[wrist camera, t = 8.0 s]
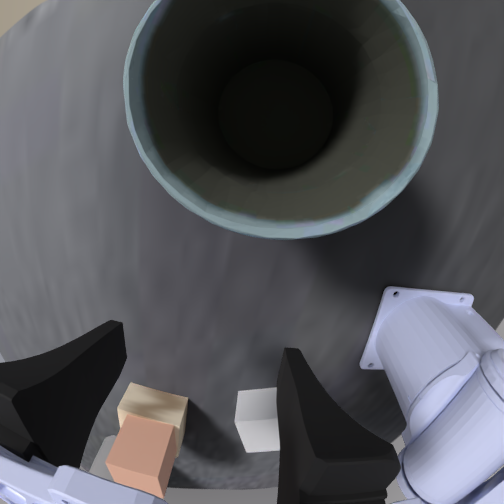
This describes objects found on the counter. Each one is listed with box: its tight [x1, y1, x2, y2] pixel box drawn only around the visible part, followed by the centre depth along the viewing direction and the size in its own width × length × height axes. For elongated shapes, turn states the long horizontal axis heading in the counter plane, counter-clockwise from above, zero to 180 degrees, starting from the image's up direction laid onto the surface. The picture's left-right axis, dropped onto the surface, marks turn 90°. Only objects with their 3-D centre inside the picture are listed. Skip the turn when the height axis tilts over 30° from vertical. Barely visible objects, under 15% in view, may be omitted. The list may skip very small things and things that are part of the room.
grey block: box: [235, 387, 280, 453], centre depth 25 cm, size 5×5×4 cm
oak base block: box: [117, 383, 188, 458], centre depth 27 cm, size 6×6×4 cm
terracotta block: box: [105, 414, 177, 498], centre depth 22 cm, size 4×4×6 cm
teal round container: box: [123, 0, 439, 240], centre depth 13 cm, size 10×10×12 cm
